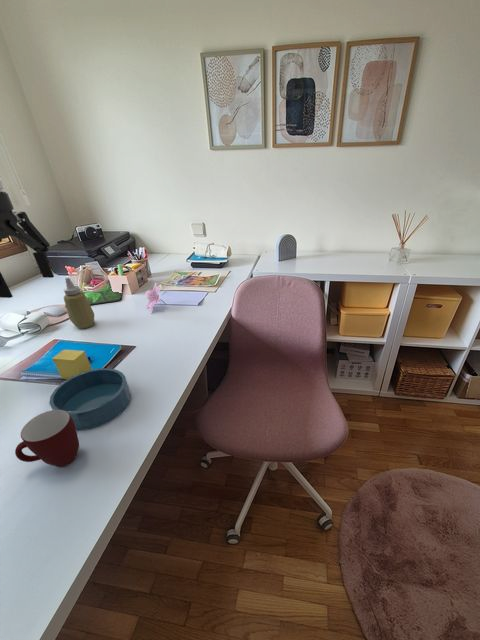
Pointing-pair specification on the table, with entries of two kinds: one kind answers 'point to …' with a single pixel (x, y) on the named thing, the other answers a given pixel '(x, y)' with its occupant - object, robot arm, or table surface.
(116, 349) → the table surface
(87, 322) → the squeeze bottle
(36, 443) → the mug
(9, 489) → the table surface
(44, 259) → the robot arm
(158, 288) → the lily
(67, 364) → the sponge
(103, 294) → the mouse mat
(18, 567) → the table surface
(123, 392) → the bowl
